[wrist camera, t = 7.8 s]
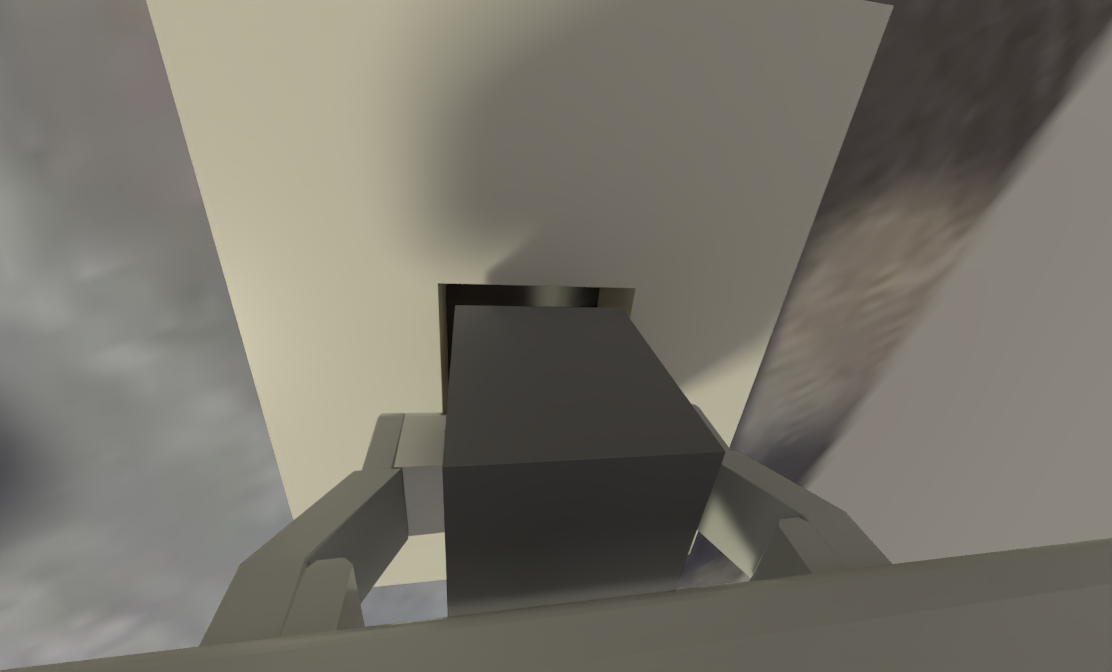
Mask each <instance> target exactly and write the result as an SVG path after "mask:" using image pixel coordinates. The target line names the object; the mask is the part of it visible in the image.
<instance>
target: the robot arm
mask: <svg viewBox="0 0 1112 672" xmlns="http://www.w3.org/2000/svg"><path fill="white" fill-rule="evenodd" d="M692 406H693V407H694V409H695V410H696V411H697V413H698V414H699V415H700V417H701V418H702V420H703V421H704V422H705V424H706V425H707V427H708V428H709V429H710V431H711V432H712V434H713V435H714V436H715V438H716V439H717V441H718V442H719V443H720V445H721V446H722V447H723V449H724V450H725V452H726V453H725V456H724V458H723V461H722V464H721V466H720V469H719V472H718V474H717V477H716V480H715V483H714V485H713V488H712V491H711V493H710V496H709V499H708V501H707V504H706V507H705V510H704V512H703V515H702V518H701V520H700V523H699V526H698V529H697V530H698V531H699V532H700V533H701V534H702V535H704V536H705V537H706V538H707V539H708V540H709V541H710V542H711V543H712V544H714V545H715V546H716V547H717V548H718V549H719V550H720V551H721V552H722V553H723V554H725V555H726V556H727V557H728V558H729V559H730V560H731V561H732V562H733V563H734V564H736V565H737V566H738V567H739V568H740V569H741V570H742V571H743V572H744V573H745V574H747V575H748V576H749V577H750V578H751V579H750V581H747V582H738V583H730V584H722V585H713V586H705V587H697V588H689V589H680V590H672V591H664V592H655V593H647V594H638V595H630V596H621V597H613V598H604V599H596V600H587V601H579V602H570V603H562V604H553V605H545V606H536V607H528V608H520V609H511V610H503V611H494V612H486V613H477V614H469V615H461V616H452V617H444V618H435V619H427V620H419V621H410V622H402V623H393V624H385V625H376V626H368V627H365V626H364V621H363V616H362V610H361V605H360V604H361V602H362V601H363V600H364V598H365V597H366V596H367V594H368V593H369V591H370V590H371V589H372V587H373V586H374V585H375V583H376V582H377V581H378V579H379V578H380V577H381V575H382V574H383V572H384V571H385V570H386V568H387V567H388V566H389V564H390V563H391V562H392V560H393V559H394V558H395V556H396V555H397V553H398V552H399V551H400V549H401V548H402V547H403V545H404V544H405V543H406V541H407V540H408V536H415V535H425V534H434V533H443V532H445V527H444V500H443V474H442V464H443V452H444V439H445V427H446V414H447V412H443V413H406V414H405V413H381V414H380V415H379V417H378V418H377V421H376V424H375V428H374V431H373V434H372V438H371V441H370V444H369V448H368V451H367V454H366V458H365V461H364V464H363V468H362V470H359V471H353V472H352V473H351V474H349V475H348V476H347V477H346V478H344V479H343V480H342V481H341V482H340V483H338V484H337V485H336V486H335V487H334V488H332V489H331V490H330V491H329V492H327V493H326V494H325V495H324V496H323V497H321V498H320V499H319V500H318V501H317V502H315V503H314V504H313V505H312V506H311V507H309V508H308V509H307V510H306V511H304V512H303V513H302V514H301V515H300V516H298V517H297V518H296V519H295V520H294V521H292V522H291V523H290V524H289V525H287V526H286V527H285V528H284V529H283V530H281V531H280V532H279V533H278V534H277V535H275V536H274V537H273V538H272V539H270V540H269V541H268V542H267V543H266V544H264V545H263V546H262V547H261V548H260V549H258V550H257V551H256V552H255V553H253V554H252V555H251V556H250V557H249V558H247V559H246V560H245V561H244V562H243V563H241V564H240V566H239V568H238V570H237V572H236V574H235V576H234V578H233V580H232V582H231V584H230V586H229V588H228V590H227V592H226V594H225V596H224V598H223V600H222V602H221V604H220V606H219V608H218V610H217V612H216V614H215V616H214V618H213V620H212V622H211V624H210V626H209V628H208V630H207V632H206V634H205V635H204V637H203V639H202V641H201V643H200V645H199V647H191V648H183V649H175V650H166V651H158V652H149V653H141V654H133V655H124V656H116V657H107V658H99V659H91V660H82V661H74V662H65V663H57V664H49V665H40V666H32V667H23V668H15V669H6V670H0V672H1112V538H1108V539H1100V540H1091V541H1083V542H1074V543H1067V544H1058V545H1050V546H1041V547H1033V548H1025V549H1016V550H1008V551H1000V552H991V553H983V554H974V555H965V556H957V557H948V558H940V559H932V560H924V561H915V562H906V563H898V564H892V563H891V562H890V561H889V560H888V559H887V558H886V556H885V555H884V554H883V553H882V552H881V551H880V550H879V549H878V548H877V546H876V545H875V544H874V543H873V542H872V541H871V540H870V539H869V538H868V536H867V535H866V534H865V533H864V532H863V531H862V530H861V529H860V528H859V526H858V525H857V524H856V523H855V522H854V521H853V520H852V519H851V518H850V516H849V515H847V513H846V512H845V511H843V510H841V509H839V508H838V507H836V506H834V505H832V504H831V503H829V502H827V501H825V500H824V499H822V498H820V497H818V496H817V495H815V494H813V493H811V492H810V491H808V490H806V489H804V488H803V487H801V486H799V485H797V484H796V483H794V482H792V481H790V480H789V479H787V478H785V477H783V476H782V475H780V474H778V473H776V472H775V471H773V470H771V469H769V468H768V467H766V466H764V465H762V464H760V463H759V462H757V461H755V460H753V459H752V458H750V457H748V456H746V455H745V454H743V453H741V452H739V451H738V450H735V451H731V449H730V448H729V447H728V445H727V444H726V443H725V441H724V440H723V439H722V437H721V436H720V435H719V433H718V432H717V431H716V429H715V428H714V427H713V425H712V424H711V423H710V421H709V420H708V419H707V417H706V416H705V415H704V413H703V412H702V410H701V409H700V408H699V407H698V406H697V405H695V404H692Z"/></svg>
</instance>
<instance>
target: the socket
mask: <svg viewBox="0 0 1112 672" xmlns="http://www.w3.org/2000/svg"><path fill="white" fill-rule="evenodd" d="M146 1H147V5H148V8H149V12H150V15H151V19H152V22H153V26H154V29H155V33H156V37H157V40H158V44H159V47H160V51H161V54H162V58H163V61H164V65H165V68H166V72H167V75H168V79H169V82H170V86H171V89H172V93H173V97H174V100H175V104H176V107H177V111H178V114H179V118H180V121H181V125H182V128H183V132H184V135H185V139H186V142H187V146H188V149H189V153H190V156H191V160H192V164H193V167H194V171H195V174H196V178H197V181H198V185H199V188H200V192H201V195H202V199H203V202H204V206H205V209H206V213H207V216H208V220H209V223H210V227H211V231H212V234H213V238H214V241H215V245H216V248H217V252H218V255H219V259H220V262H221V266H222V269H223V273H224V276H225V280H226V283H227V287H228V291H229V294H230V298H231V301H232V305H233V308H234V312H235V315H236V319H237V322H238V326H239V329H240V333H241V336H242V340H243V343H244V347H245V350H246V354H247V358H248V361H249V365H250V368H251V372H252V375H253V379H254V382H255V386H256V389H257V393H258V396H259V400H260V403H261V407H262V410H263V414H264V417H265V421H266V425H267V428H268V432H269V435H270V439H271V442H272V446H273V449H274V453H275V456H276V460H277V463H278V467H279V470H280V474H281V477H282V481H283V485H284V488H285V492H286V495H287V499H288V502H289V506H290V509H291V513H292V516H293V520H295V519H296V518H297V517H298V516H300V515H301V514H302V513H303V512H304V511H306V510H307V509H308V508H309V507H311V506H312V505H313V504H314V503H315V502H317V501H318V500H319V499H320V498H321V497H323V496H324V495H325V494H326V493H327V492H329V491H330V490H331V489H332V488H334V487H335V486H336V485H337V484H338V483H340V482H341V481H342V480H343V479H344V478H346V477H347V476H348V475H349V474H351V473H352V472H353V471H359V470H362V468H363V464H364V461H365V458H366V454H367V451H368V448H369V444H370V441H371V438H372V434H373V431H374V428H375V424H376V421H377V418H378V417H379V415H380V414H381V413H405V414H406V413H443V412H447V402H448V389H449V379H448V344H447V309H446V284H486V285H527V286H567V287H600V290H599V297H598V304H597V308H623V310H624V311H625V313H626V314H627V315H628V317H629V318H630V320H631V321H632V322H633V324H634V325H635V327H636V328H637V329H638V331H639V332H640V333H641V335H642V336H643V338H644V339H645V340H646V342H647V343H648V345H649V346H650V347H651V349H652V350H653V352H654V353H655V354H656V356H657V357H658V358H659V360H660V361H661V363H662V364H663V365H664V367H665V368H666V370H667V371H668V372H669V374H670V375H671V377H672V378H673V379H674V381H675V382H676V384H677V385H678V386H679V388H680V389H681V390H682V392H683V393H684V395H685V396H686V397H687V399H688V400H689V402H690V403H691V404H695V405H697V406H698V407H699V408H700V409H701V410H702V412H703V413H704V415H705V416H706V417H707V419H708V420H709V421H710V423H711V424H712V425H713V427H714V428H715V429H716V431H717V432H718V433H719V435H720V436H721V437H722V439H723V440H724V441H725V443H726V444H727V445H728V447H730V444H731V442H732V439H733V436H734V434H735V431H736V428H737V426H738V423H739V420H740V418H741V415H742V412H743V410H744V407H745V404H746V401H747V399H748V396H749V393H750V391H751V388H752V385H753V383H754V380H755V377H756V375H757V372H758V369H759V367H760V364H761V361H762V359H763V356H764V353H765V350H766V348H767V345H768V342H769V340H770V337H771V334H772V332H773V329H774V326H775V324H776V321H777V318H778V316H779V313H780V310H781V308H782V305H783V302H784V299H785V297H786V294H787V291H788V289H789V286H790V283H791V281H792V278H793V275H794V273H795V270H796V267H797V265H798V262H799V259H800V257H801V254H802V251H803V248H804V246H805V243H806V240H807V238H808V235H809V232H810V230H811V227H812V224H813V222H814V219H815V216H816V214H817V211H818V208H819V205H820V203H821V200H822V197H823V195H824V192H825V189H826V187H827V184H828V181H829V179H830V176H831V173H832V171H833V168H834V165H835V163H836V160H837V157H838V154H839V152H840V149H841V146H842V144H843V141H844V138H845V136H846V133H847V130H848V128H849V125H850V122H851V120H852V117H853V114H854V112H855V109H856V106H857V103H858V101H859V98H860V95H861V93H862V90H863V87H864V85H865V82H866V79H867V77H868V74H869V71H870V69H871V66H872V63H873V61H874V58H875V55H876V52H877V50H878V47H879V44H880V42H881V39H882V36H883V34H884V31H885V28H886V26H887V23H888V20H889V18H890V15H891V12H892V9H893V7H894V5H888V4H882V3H877V2H871V1H866V0H146ZM697 533H698V530H697V531H696V534H695V537H694V539H693V542H692V545H691V547H690V550H689V553H688V554H690V552H691V549H692V546H693V544H694V541H695V538H696V536H697ZM445 579H446V553H445V532H443V533H434V534H425V535H415V536H408V540H407V541H406V543H405V544H404V545H403V547H402V548H401V549H400V551H399V552H398V553H397V555H396V556H395V558H394V559H393V560H392V562H391V563H390V564H389V566H388V567H387V568H386V570H385V571H384V572H383V574H382V575H381V577H380V578H379V579H378V581H377V582H376V583H375V585H374V586H373V587H377V586H386V585H396V584H406V583H415V582H425V581H435V580H445Z"/></svg>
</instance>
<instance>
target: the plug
mask: <svg viewBox="0 0 1112 672" xmlns="http://www.w3.org/2000/svg"><path fill="white" fill-rule="evenodd" d="M725 453H726V452H725V450H724V449H723V447H722V446H721V445H720V443H719V442H718V441H717V439H716V438H715V436H714V435H713V434H712V432H711V431H710V429H709V428H708V427H707V425H706V424H705V422H704V421H703V420H702V418H701V417H700V415H699V414H698V413H697V411H696V410H695V409H694V407H693V406H692V404H691V403H690V402H689V400H688V399H687V397H686V396H685V395H684V393H683V392H682V390H681V389H680V388H679V386H678V385H677V384H676V382H675V381H674V379H673V378H672V377H671V375H670V374H669V372H668V371H667V370H666V368H665V367H664V365H663V364H662V363H661V361H660V360H659V358H658V357H657V356H656V354H655V353H654V352H653V350H652V349H651V347H650V346H649V345H648V343H647V342H646V340H645V339H644V338H643V336H642V335H641V333H640V332H639V331H638V329H637V328H636V327H635V325H634V324H633V322H632V321H631V320H630V318H629V317H628V315H627V314H626V313H625V311H624V310H623V308H592V307H533V306H474V305H455V314H454V327H453V339H452V352H451V364H450V377H449V389H448V402H447V414H446V427H445V439H444V452H443V464H442V474H443V500H444V527H445V553H446V580H447V606H448V617H452V616H461V615H469V614H477V613H486V612H494V611H503V610H511V609H520V608H528V607H536V606H545V605H553V604H562V603H570V602H579V601H587V600H596V599H604V598H613V597H621V596H630V595H638V594H647V593H655V592H664V591H672V590H675V588H676V585H677V583H678V580H679V577H680V574H681V572H682V569H683V566H684V564H685V561H686V558H687V556H688V553H689V550H690V547H691V545H692V542H693V539H694V537H695V534H696V531H697V529H698V526H699V523H700V520H701V518H702V515H703V512H704V510H705V507H706V504H707V501H708V499H709V496H710V493H711V491H712V488H713V485H714V483H715V480H716V477H717V474H718V472H719V469H720V466H721V464H722V461H723V458H724V456H725Z"/></svg>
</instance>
